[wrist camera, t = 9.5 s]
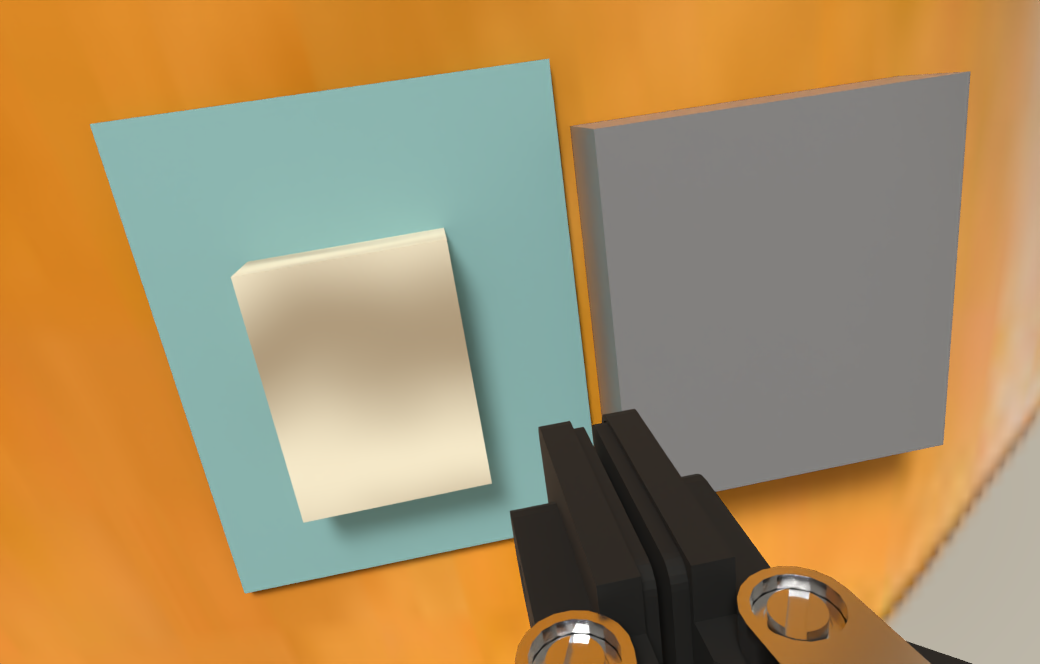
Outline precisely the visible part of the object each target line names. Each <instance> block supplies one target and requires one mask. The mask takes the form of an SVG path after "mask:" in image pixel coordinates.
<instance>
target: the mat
mask: <svg viewBox="0 0 1040 664" xmlns="http://www.w3.org/2000/svg"><path fill="white" fill-rule="evenodd" d="M90 126H91V129H92V132H93V135H94V138H95V141H96V144H97V147H98V150H99V153H100V156H101V159H102V163H103V166H104V169H105V172H106V175H107V178H108V181H109V184H110V187H111V190H112V193H113V196H114V199H115V202H116V205H117V208H118V211H119V214H120V217H121V220H122V223H123V226H124V229H125V232H126V235H127V238H128V241H129V244H130V247H131V250H132V253H133V256H134V259H135V262H136V265H137V268H138V271H139V275H140V278H141V281H142V284H143V287H144V290H145V293H146V296H147V299H148V302H149V305H150V308H151V311H152V314H153V317H154V320H155V323H156V326H157V329H158V332H159V335H160V338H161V341H162V344H163V347H164V350H165V353H166V356H167V359H168V362H169V365H170V368H171V371H172V374H173V377H174V380H175V383H176V387H177V390H178V393H179V396H180V399H181V402H182V405H183V408H184V411H185V414H186V417H187V420H188V423H189V426H190V429H191V432H192V435H193V438H194V441H195V444H196V447H197V450H198V453H199V456H200V459H201V462H202V465H203V468H204V471H205V474H206V477H207V480H208V483H209V486H210V489H211V492H212V495H213V499H214V502H215V505H216V508H217V511H218V514H219V517H220V520H221V523H222V526H223V529H224V532H225V535H226V538H227V541H228V544H229V547H230V550H231V553H232V556H233V559H234V562H235V565H236V568H237V571H238V574H239V577H240V580H241V583H242V586H243V589H244V592H245V593H250V592H254V591H259V590H264V589H269V588H274V587H278V586H283V585H288V584H293V583H298V582H303V581H307V580H312V579H317V578H322V577H327V576H331V575H336V574H341V573H346V572H351V571H355V570H360V569H365V568H370V567H375V566H379V565H384V564H389V563H394V562H399V561H404V560H408V559H413V558H418V557H423V556H428V555H432V554H437V553H442V552H447V551H452V550H456V549H461V548H466V547H471V546H476V545H481V544H485V543H490V542H495V541H500V540H505V539H509V538H514V537H513V531H512V524H511V518H510V511H511V510H516V509H521V508H526V507H531V506H536V505H542V504H547V503H548V497H547V490H546V483H545V476H544V469H543V462H542V455H541V448H540V441H539V432H538V427H540V426H545V425H550V424H556V423H561V422H566V421H570V422H571V423H572V426H573V428H580V427H584V428H585V430H586V432H587V434H588V436H589V438H590V440H591V442H592V444H593V436H592V427H591V419H590V410H589V401H588V393H587V384H586V375H585V367H584V358H583V349H582V341H581V332H580V323H579V315H578V306H577V298H576V289H575V280H574V272H573V263H572V254H571V246H570V237H569V228H568V220H567V211H566V202H565V194H564V185H563V177H562V168H561V159H560V151H559V142H558V133H557V125H556V116H555V107H554V99H553V90H552V81H551V73H550V64H549V59H544V60H537V61H530V62H523V63H516V64H509V65H502V66H495V67H488V68H481V69H474V70H467V71H460V72H453V73H446V74H439V75H432V76H425V77H418V78H411V79H404V80H397V81H390V82H383V83H376V84H369V85H362V86H355V87H348V88H341V89H334V90H327V91H319V92H312V93H305V94H298V95H291V96H284V97H277V98H270V99H263V100H256V101H249V102H242V103H235V104H228V105H221V106H214V107H207V108H200V109H193V110H186V111H179V112H172V113H165V114H158V115H151V116H144V117H137V118H130V119H123V120H116V121H109V122H102V123H95V124H90ZM439 228H444V230H445V234H446V238H447V244H448V249H449V254H450V260H451V265H452V271H453V276H454V281H455V287H456V292H457V298H458V303H459V308H460V314H461V319H462V325H463V330H464V335H465V341H466V346H467V351H468V357H469V362H470V368H471V373H472V378H473V384H474V389H475V395H476V400H477V405H478V411H479V416H480V422H481V427H482V432H483V438H484V443H485V449H486V454H487V459H488V465H489V470H490V476H491V481H492V484H487V485H482V486H477V487H472V488H468V489H463V490H458V491H453V492H448V493H444V494H439V495H434V496H429V497H424V498H420V499H415V500H410V501H405V502H400V503H396V504H391V505H386V506H381V507H376V508H372V509H367V510H362V511H357V512H352V513H348V514H343V515H338V516H333V517H328V518H324V519H319V520H314V521H309V522H304V523H303V520H302V516H301V513H300V509H299V506H298V503H297V499H296V496H295V493H294V489H293V486H292V482H291V479H290V476H289V472H288V469H287V466H286V462H285V459H284V455H283V452H282V449H281V445H280V442H279V439H278V435H277V432H276V428H275V425H274V422H273V418H272V415H271V412H270V408H269V405H268V401H267V398H266V395H265V391H264V388H263V385H262V381H261V378H260V374H259V371H258V368H257V364H256V361H255V358H254V354H253V351H252V347H251V344H250V341H249V337H248V334H247V330H246V327H245V324H244V320H243V317H242V314H241V310H240V307H239V303H238V300H237V297H236V293H235V290H234V287H233V283H232V280H231V276H232V275H234V274H235V273H236V272H237V271H238V270H239V269H240V268H241V267H242V266H243V265H244V264H245V263H247V262H249V261H255V260H260V259H266V258H272V257H278V256H283V255H289V254H295V253H301V252H307V251H312V250H318V249H324V248H330V247H335V246H341V245H347V244H353V243H359V242H364V241H370V240H376V239H382V238H387V237H393V236H399V235H405V234H410V233H416V232H422V231H428V230H434V229H439ZM593 446H594V444H593Z"/></svg>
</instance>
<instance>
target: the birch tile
mask: <svg viewBox="0 0 1040 664" xmlns="http://www.w3.org/2000/svg"><path fill="white" fill-rule="evenodd" d="M231 280H232V283H233V287H234V290H235V293H236V297H237V300H238V303H239V307H240V310H241V314H242V317H243V320H244V324H245V327H246V330H247V334H248V337H249V341H250V344H251V347H252V351H253V354H254V358H255V361H256V364H257V368H258V371H259V374H260V378H261V381H262V385H263V388H264V391H265V395H266V398H267V401H268V405H269V408H270V412H271V415H272V418H273V422H274V425H275V428H276V432H277V435H278V439H279V442H280V445H281V449H282V452H283V455H284V459H285V462H286V466H287V469H288V472H289V476H290V479H291V482H292V486H293V489H294V493H295V496H296V499H297V503H298V506H299V509H300V513H301V516H302V520H303V523H304V522H309V521H314V520H319V519H324V518H328V517H333V516H338V515H343V514H348V513H352V512H357V511H362V510H367V509H372V508H376V507H381V506H386V505H391V504H396V503H400V502H405V501H410V500H415V499H420V498H424V497H429V496H434V495H439V494H444V493H448V492H453V491H458V490H463V489H468V488H472V487H477V486H482V485H487V484H492V481H491V476H490V470H489V465H488V459H487V454H486V449H485V443H484V438H483V432H482V427H481V422H480V416H479V411H478V405H477V400H476V395H475V389H474V384H473V378H472V373H471V368H470V362H469V357H468V351H467V346H466V341H465V335H464V330H463V325H462V319H461V314H460V308H459V303H458V298H457V292H456V287H455V281H454V276H453V271H452V265H451V260H450V254H449V249H448V244H447V238H446V234H445V230H444V228H439V229H434V230H428V231H422V232H416V233H410V234H405V235H399V236H393V237H387V238H382V239H376V240H370V241H364V242H359V243H353V244H347V245H341V246H335V247H330V248H324V249H318V250H312V251H307V252H301V253H295V254H289V255H283V256H278V257H272V258H266V259H260V260H255V261H249V262H247V263H245V264H244V265H243V266H242V267H241V268H240V269H239V270H238V271H237V272H236V273H235V274H234V275H232V276H231Z"/></svg>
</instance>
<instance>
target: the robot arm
mask: <svg viewBox="0 0 1040 664" xmlns="http://www.w3.org/2000/svg"><path fill="white" fill-rule="evenodd" d="M538 432H539V441H540V448H541V455H542V462H543V469H544V476H545V483H546V490H547V497H548V503H547V504H542V505H536V506H531V507H526V508H521V509H516V510H511V511H510V518H511V524H512V531H513V537H514V543H515V549H516V554H517V560H518V566H519V571H520V577H521V582H522V587H523V593H524V598H525V602H526V607H527V612H528V617H529V622H530V626H531V629H529V630H528V631H527V632H526V634H525V635H524V637H523V638H522V640H521V642H520V643H519V645H518V649H517V653H516V658H515V664H972V663H968V662H965V661H963V660H960V659H957V658H954V657H951V656H948V655H945V654H942V653H939V652H937V651H933V650H930V649H928V648H925V647H922V646H919V645H916V644H913V643H910V642H907V641H905V640H904V639H903V638H902V637H901V636H900V635H898V634H897V633H896V632H895V631H894V630H893V629H892V628H891V627H890V626H888V625H887V624H886V623H885V622H884V621H883V620H882V619H881V618H880V617H878V616H877V615H876V614H875V613H874V612H873V611H872V610H871V609H870V608H868V607H867V606H866V605H865V604H864V603H863V602H862V601H861V600H860V599H858V598H857V597H856V596H855V595H854V594H853V593H852V592H851V591H850V590H848V589H847V588H846V587H845V586H843V585H842V584H840V583H839V582H837V581H836V580H835V579H833V578H832V577H829V576H827V575H824V574H822V573H820V572H817V571H815V570H810V569H806V568H801V567H793V566H778V567H773V568H770V566H769V565H768V563H767V562H766V561H765V559H764V558H763V557H762V555H761V554H760V552H759V551H758V550H757V548H756V547H755V546H754V544H753V543H752V542H751V540H750V539H749V537H748V536H747V535H746V533H745V532H744V531H743V529H742V528H741V527H740V525H739V524H738V522H737V521H736V520H735V518H734V517H733V516H732V514H731V513H730V512H729V510H728V509H727V507H726V506H725V505H724V503H723V502H722V501H721V499H720V498H719V496H718V495H717V494H716V492H715V491H714V490H713V488H712V487H711V486H710V484H709V483H708V481H707V480H706V479H705V478H704V477H703V476H702V475H701V474H693V475H688V476H683V477H681V476H680V474H679V473H678V471H677V470H676V468H675V467H674V465H673V464H672V462H671V461H670V459H669V458H668V456H667V455H666V453H665V452H664V450H663V449H662V447H661V446H660V444H659V443H658V441H657V440H656V439H655V437H654V436H653V434H652V433H651V431H650V430H649V428H648V427H647V425H646V424H645V422H644V421H643V419H642V418H641V416H640V415H639V413H638V412H637V411H636V410H635V409H630V410H624V411H619V412H614V413H609V414H603V416H602V423H601V424H595V425H593V426H592V434H593V444H594V446H593V444H592V442H591V440H590V438H589V436H588V434H587V432H586V430H585V428H584V427H580V428H573V426H572V423H571V422H570V421H566V422H561V423H556V424H550V425H545V426H540V427H538Z"/></svg>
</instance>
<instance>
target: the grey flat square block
mask: <svg viewBox="0 0 1040 664" xmlns="http://www.w3.org/2000/svg"><path fill="white" fill-rule="evenodd" d="M969 83H970V72H954V73H939V74H923V75H908V76H897V77H890V78H884V79H877V80H870V81H864V82H857V83H851V84H844V85H838V86H831V87H825V88H818V89H811V90H805V91H798V92H792V93H785V94H779V95H772V96H765V97H759V98H752V99H746V100H739V101H733V102H726V103H719V104H713V105H706V106H700V107H693V108H687V109H680V110H673V111H667V112H660V113H654V114H647V115H641V116H634V117H627V118H621V119H614V120H608V121H601V122H595V123H588V124H581V125H575V126H570V129H571V138H572V147H573V156H574V165H575V174H576V184H577V193H578V202H579V211H580V220H581V229H582V238H583V248H584V257H585V266H586V275H587V284H588V293H589V302H590V311H591V321H592V330H593V339H594V348H595V357H596V366H597V375H598V385H599V394H600V403H601V412H602V416H603V414H609V413H614V412H619V411H624V410H630V409H635V410H636V411H637V412H638V413H639V415H640V416H641V418H642V419H643V421H644V422H645V424H646V425H647V427H648V428H649V430H650V431H651V433H652V434H653V436H654V437H655V439H656V440H657V441H658V443H659V444H660V446H661V447H662V449H663V450H664V452H665V453H666V455H667V456H668V458H669V459H670V461H671V462H672V464H673V465H674V467H675V468H676V470H677V471H678V473H679V474H680V476H681V477H683V476H688V475H693V474H701V475H702V476H703V477H704V478H705V479H706V480H707V481H708V483H709V484H710V486H711V487H712V488H713V490H714V491H715V492H717V491H722V490H726V489H731V488H736V487H741V486H746V485H751V484H755V483H760V482H765V481H770V480H775V479H780V478H784V477H789V476H794V475H799V474H804V473H808V472H813V471H818V470H823V469H828V468H833V467H837V466H842V465H847V464H852V463H857V462H862V461H866V460H871V459H876V458H881V457H886V456H891V455H895V454H900V453H905V452H910V451H915V450H919V449H924V448H929V447H934V446H939V445H943V440H944V426H945V412H946V399H947V385H948V371H949V357H950V344H951V330H952V316H953V303H954V289H955V275H956V262H957V248H958V234H959V220H960V207H961V193H962V179H963V166H964V152H965V138H966V124H967V111H968V97H969Z"/></svg>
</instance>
